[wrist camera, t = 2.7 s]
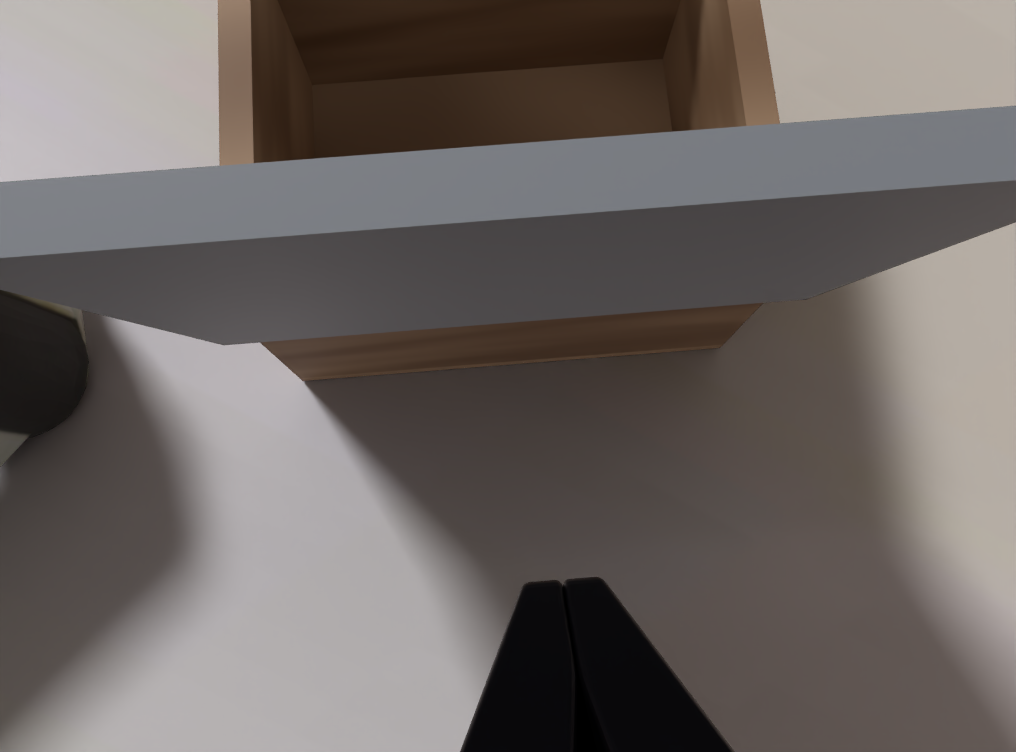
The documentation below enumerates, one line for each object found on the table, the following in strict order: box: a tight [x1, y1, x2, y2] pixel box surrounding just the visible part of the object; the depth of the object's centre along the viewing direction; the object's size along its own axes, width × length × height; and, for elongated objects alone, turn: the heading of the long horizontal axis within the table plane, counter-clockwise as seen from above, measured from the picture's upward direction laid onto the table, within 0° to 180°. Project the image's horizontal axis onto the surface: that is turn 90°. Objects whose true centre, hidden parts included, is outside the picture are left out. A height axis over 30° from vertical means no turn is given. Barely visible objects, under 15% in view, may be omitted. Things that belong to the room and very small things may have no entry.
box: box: [218, 0, 780, 381], centre depth 19 cm, size 8×10×6 cm
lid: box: [0, 106, 1016, 345], centre depth 11 cm, size 8×10×1 cm
